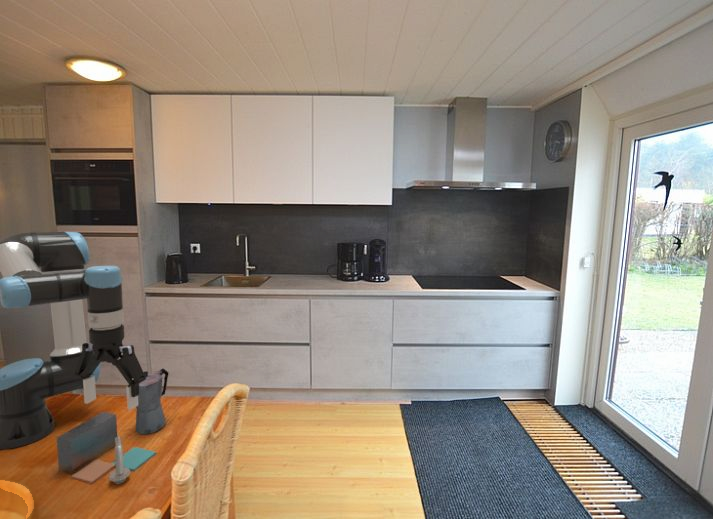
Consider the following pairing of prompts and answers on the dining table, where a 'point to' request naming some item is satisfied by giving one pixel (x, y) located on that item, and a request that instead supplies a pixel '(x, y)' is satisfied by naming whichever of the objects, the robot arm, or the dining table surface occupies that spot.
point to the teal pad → (136, 458)
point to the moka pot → (151, 403)
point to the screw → (119, 464)
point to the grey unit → (86, 442)
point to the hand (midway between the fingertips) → (111, 404)
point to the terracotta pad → (93, 471)
